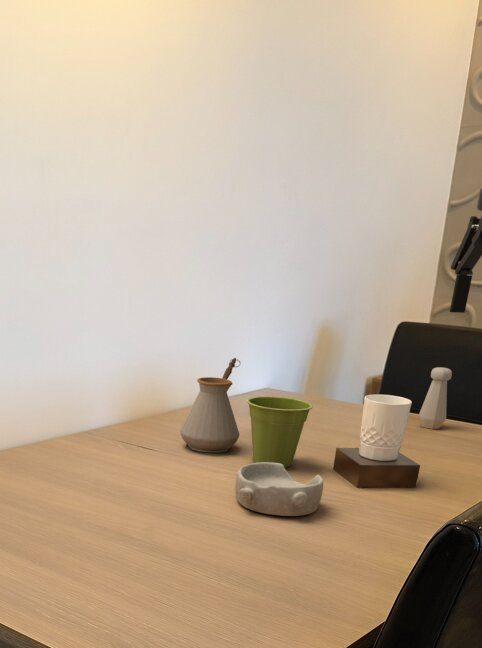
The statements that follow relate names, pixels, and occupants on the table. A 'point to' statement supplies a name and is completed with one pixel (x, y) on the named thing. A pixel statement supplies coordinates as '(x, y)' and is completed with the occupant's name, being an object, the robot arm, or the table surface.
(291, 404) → the plant pot
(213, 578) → the table surface
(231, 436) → the coffee pot
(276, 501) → the dish
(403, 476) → the riser
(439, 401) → the salt shaker
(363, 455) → the white cup
